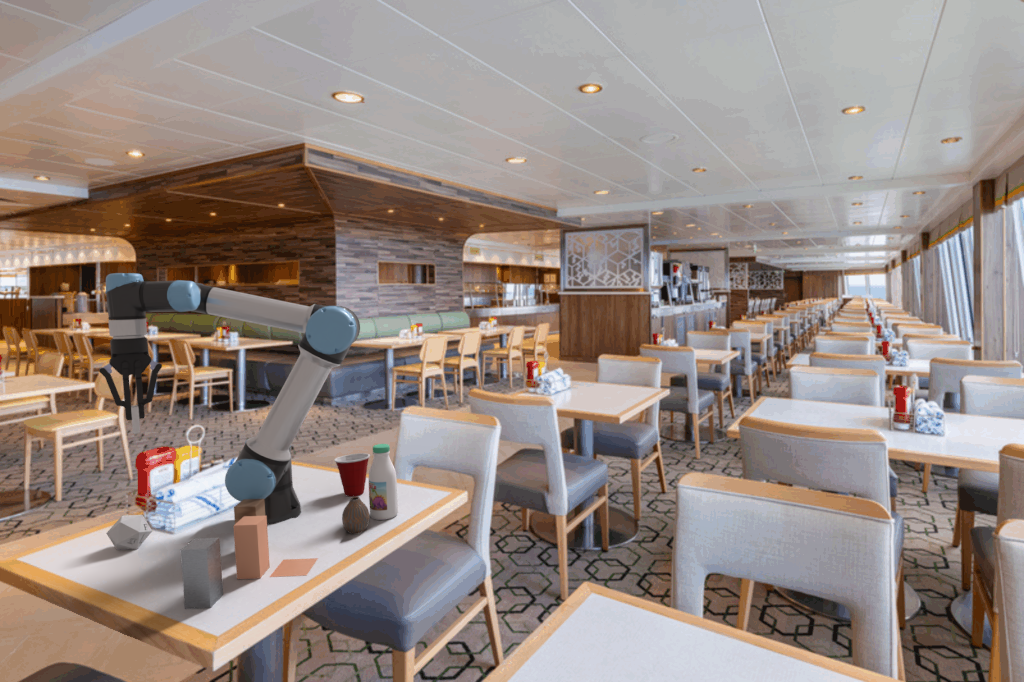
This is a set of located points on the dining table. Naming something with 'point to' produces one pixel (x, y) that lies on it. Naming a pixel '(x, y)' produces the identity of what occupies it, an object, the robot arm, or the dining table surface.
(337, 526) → the dining table surface
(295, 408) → the robot arm
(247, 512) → the walnut post
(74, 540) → the dining table surface
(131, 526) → the die
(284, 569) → the terracotta coaster
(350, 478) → the plastic cup
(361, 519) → the vase
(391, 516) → the milk bottle
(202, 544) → the grey post
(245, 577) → the terracotta post
